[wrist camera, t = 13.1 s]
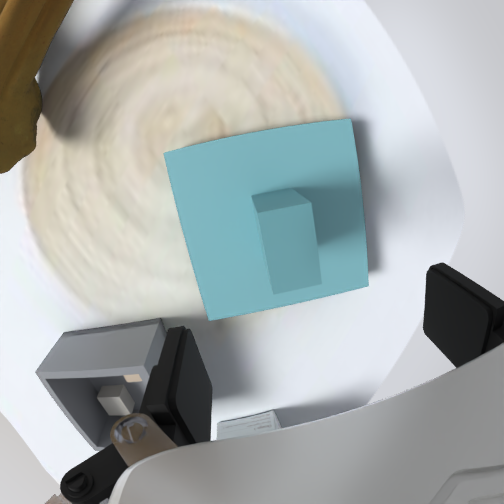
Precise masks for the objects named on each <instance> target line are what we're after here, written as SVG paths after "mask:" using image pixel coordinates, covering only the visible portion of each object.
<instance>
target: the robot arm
mask: <svg viewBox="0 0 504 504" xmlns="http://www.w3.org/2000/svg"><path fill="white" fill-rule="evenodd" d="M423 330H424V333H425V335H426V336H427V337H428V338H429V339H430V340H431V341H432V342H433V343H434V344H435V345H436V346H437V347H438V348H439V349H440V350H441V352H442V353H443V354H444V355H445V356H446V357H447V358H448V359H449V360H450V361H451V362H452V363H453V364H454V366H455V367H456V369H454V370H452V371H449V372H447V373H445V374H443V375H441V376H439V377H436V378H434V379H432V380H430V381H428V382H425V383H423V384H420V385H418V386H416V387H413V388H411V389H408V390H406V391H404V392H401V393H398V394H396V395H393V396H390V397H388V398H385V399H382V400H379V401H377V402H374V403H371V404H368V405H365V406H362V407H359V408H356V409H352V410H349V411H346V412H343V413H340V414H336V415H333V416H329V417H326V418H322V419H318V420H314V421H311V422H307V423H303V424H298V425H294V426H290V427H285V428H281V429H276V430H271V431H266V432H261V433H255V434H250V435H244V436H238V437H233V438H227V439H221V440H215V441H210V438H211V410H212V385H211V382H210V379H209V377H208V374H207V372H206V369H205V367H204V364H203V361H202V359H201V356H200V353H199V351H198V348H197V345H196V343H195V340H194V337H193V334H192V332H191V330H190V329H186V328H185V327H184V326H181V327H175V328H169V329H168V332H167V335H166V338H165V341H164V345H163V348H162V351H161V355H160V358H159V361H158V365H154V366H153V368H152V370H151V373H150V376H149V380H148V383H147V386H146V390H145V393H144V396H143V400H142V403H141V407H140V410H139V413H133V414H128V415H126V416H124V417H122V418H120V419H119V420H118V421H116V422H115V424H114V425H113V426H112V428H111V431H110V438H111V441H112V444H110V445H109V446H107V447H106V448H104V449H103V450H101V451H99V452H98V453H96V454H95V455H93V456H92V457H90V458H89V459H87V460H85V461H84V462H82V463H81V464H79V465H77V466H76V467H74V468H72V469H71V470H69V471H68V472H67V473H66V474H65V475H64V477H63V478H62V481H61V484H60V489H61V492H62V493H61V494H60V495H59V496H56V495H55V494H54V495H53V496H52V497H51V498H50V499H49V500H48V501H47V502H46V503H45V504H504V301H503V300H501V299H500V298H498V297H497V296H495V295H494V294H492V293H491V292H489V291H488V290H486V289H485V288H483V287H482V286H480V285H478V284H477V283H475V282H474V281H472V280H471V279H469V278H467V277H466V276H464V275H463V274H461V273H460V272H458V271H456V270H455V269H453V268H451V267H450V266H448V265H446V264H445V263H439V264H436V265H432V266H430V268H429V270H428V271H427V273H426V293H425V309H424V322H423Z"/></svg>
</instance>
